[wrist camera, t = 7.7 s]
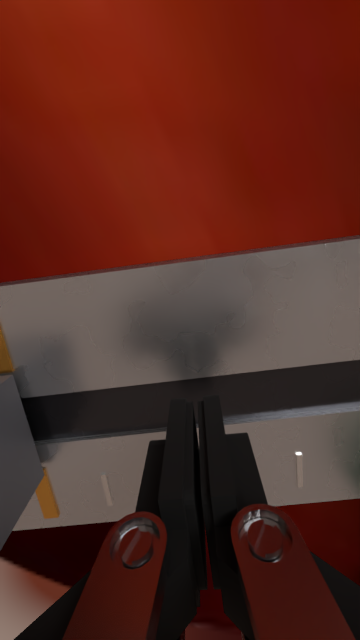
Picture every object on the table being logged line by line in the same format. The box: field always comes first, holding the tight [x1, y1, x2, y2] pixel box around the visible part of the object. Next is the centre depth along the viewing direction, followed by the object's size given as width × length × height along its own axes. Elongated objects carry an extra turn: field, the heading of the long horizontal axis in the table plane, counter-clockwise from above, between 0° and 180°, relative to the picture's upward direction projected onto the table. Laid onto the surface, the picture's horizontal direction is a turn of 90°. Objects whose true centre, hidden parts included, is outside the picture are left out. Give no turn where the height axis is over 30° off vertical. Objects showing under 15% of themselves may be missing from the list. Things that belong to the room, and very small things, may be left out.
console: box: [0, 235, 360, 531], centre depth 12 cm, size 24×12×4 cm, turn 97°
